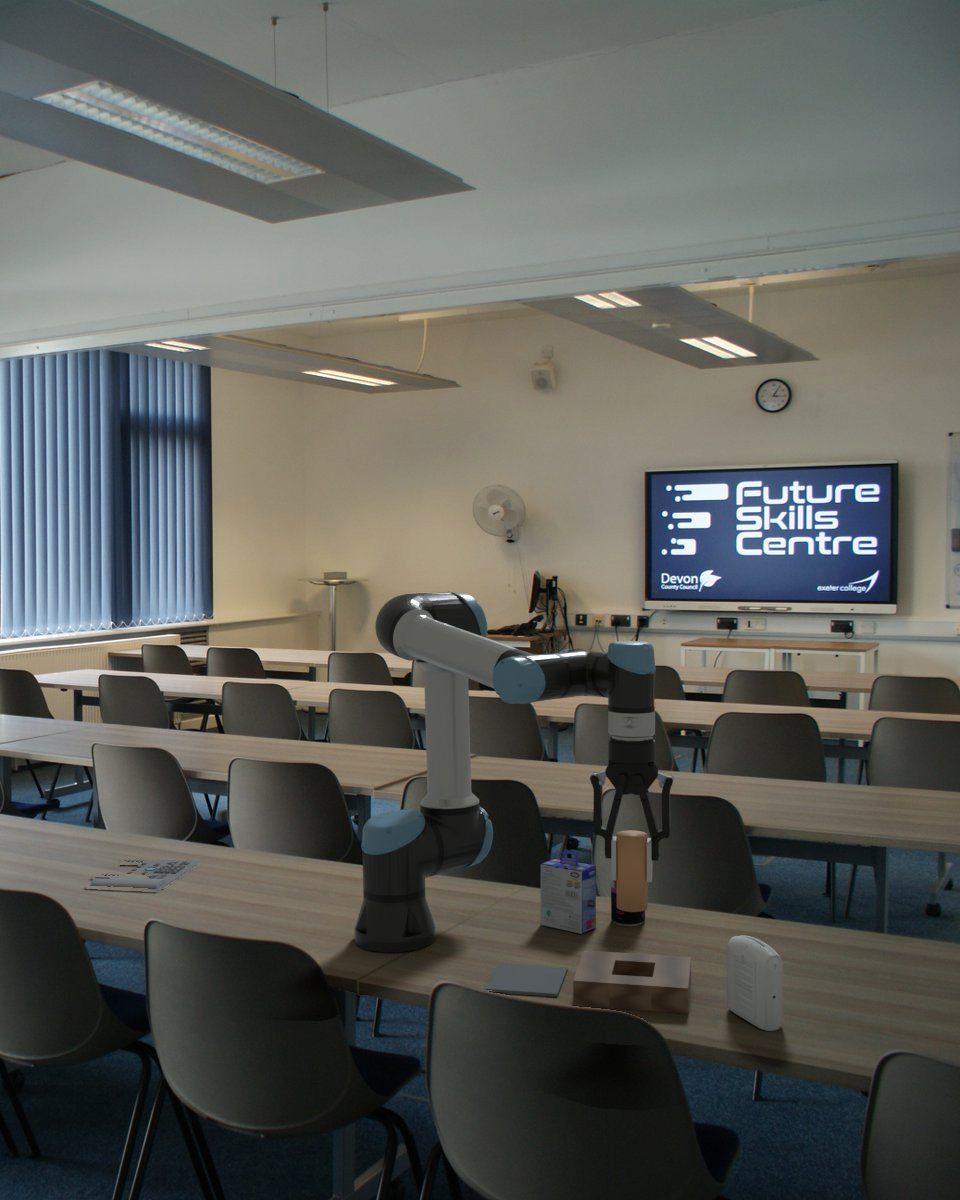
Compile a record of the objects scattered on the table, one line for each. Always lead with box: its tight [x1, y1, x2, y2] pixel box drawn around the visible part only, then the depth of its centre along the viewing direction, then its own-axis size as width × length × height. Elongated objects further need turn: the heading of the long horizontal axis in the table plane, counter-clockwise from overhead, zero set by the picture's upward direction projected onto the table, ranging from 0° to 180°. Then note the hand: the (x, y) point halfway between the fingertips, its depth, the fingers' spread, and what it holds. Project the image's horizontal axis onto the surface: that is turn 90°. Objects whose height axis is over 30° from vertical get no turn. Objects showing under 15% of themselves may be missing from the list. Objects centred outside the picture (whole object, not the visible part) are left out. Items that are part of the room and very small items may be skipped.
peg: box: [615, 830, 649, 912], centre depth 184 cm, size 5×5×12 cm
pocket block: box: [572, 950, 692, 1015], centre depth 185 cm, size 18×14×4 cm
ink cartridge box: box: [539, 849, 597, 935], centre depth 218 cm, size 10×6×14 cm, turn 53°
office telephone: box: [90, 859, 202, 891], centre depth 257 cm, size 23×3×20 cm
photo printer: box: [726, 934, 784, 1032], centre depth 174 cm, size 10×4×12 cm, turn 24°
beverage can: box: [610, 861, 646, 927], centre depth 220 cm, size 6×6×15 cm
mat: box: [484, 962, 569, 998], centre depth 190 cm, size 12×12×1 cm
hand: (632, 878), depth 184 cm, fingers closed on peg, 5 cm apart
